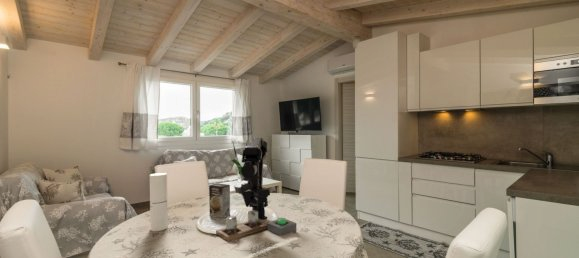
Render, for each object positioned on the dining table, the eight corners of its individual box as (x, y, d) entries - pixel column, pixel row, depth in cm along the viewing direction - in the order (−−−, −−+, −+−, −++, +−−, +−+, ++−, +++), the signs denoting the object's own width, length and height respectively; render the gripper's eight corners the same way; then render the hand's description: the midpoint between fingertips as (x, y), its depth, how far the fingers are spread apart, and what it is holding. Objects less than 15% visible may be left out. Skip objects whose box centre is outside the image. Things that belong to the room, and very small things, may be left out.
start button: (275, 224, 117) (275, 219, 117) (282, 221, 120) (282, 217, 120) (281, 226, 114) (281, 221, 114) (288, 224, 117) (288, 219, 117)
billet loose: (246, 227, 120) (246, 211, 120) (254, 224, 123) (254, 209, 123) (251, 230, 117) (251, 214, 117) (260, 227, 120) (259, 211, 120)
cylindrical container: (160, 231, 119) (159, 175, 119) (146, 230, 121) (145, 175, 121) (171, 225, 126) (170, 173, 126) (157, 224, 128) (156, 172, 128)
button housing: (267, 232, 117) (267, 222, 117) (283, 226, 123) (282, 218, 123) (280, 238, 110) (280, 228, 110) (296, 232, 116) (296, 223, 116)
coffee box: (209, 215, 140) (208, 185, 140) (217, 212, 146) (217, 182, 145) (222, 218, 136) (221, 186, 135) (230, 214, 141) (230, 184, 141)
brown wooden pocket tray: (216, 236, 113) (216, 230, 113) (255, 224, 127) (255, 219, 127) (227, 243, 106) (227, 237, 106) (268, 230, 119) (268, 224, 119)
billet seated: (224, 234, 113) (224, 217, 113) (233, 231, 116) (233, 215, 116) (229, 237, 110) (229, 220, 109) (238, 234, 112) (238, 217, 112)
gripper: (226, 173, 121) (226, 208, 121) (248, 179, 107) (249, 218, 107) (246, 171, 129) (247, 203, 129) (270, 175, 115) (271, 212, 115)
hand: (252, 208), depth 120 cm, fingers open, 9 cm apart
